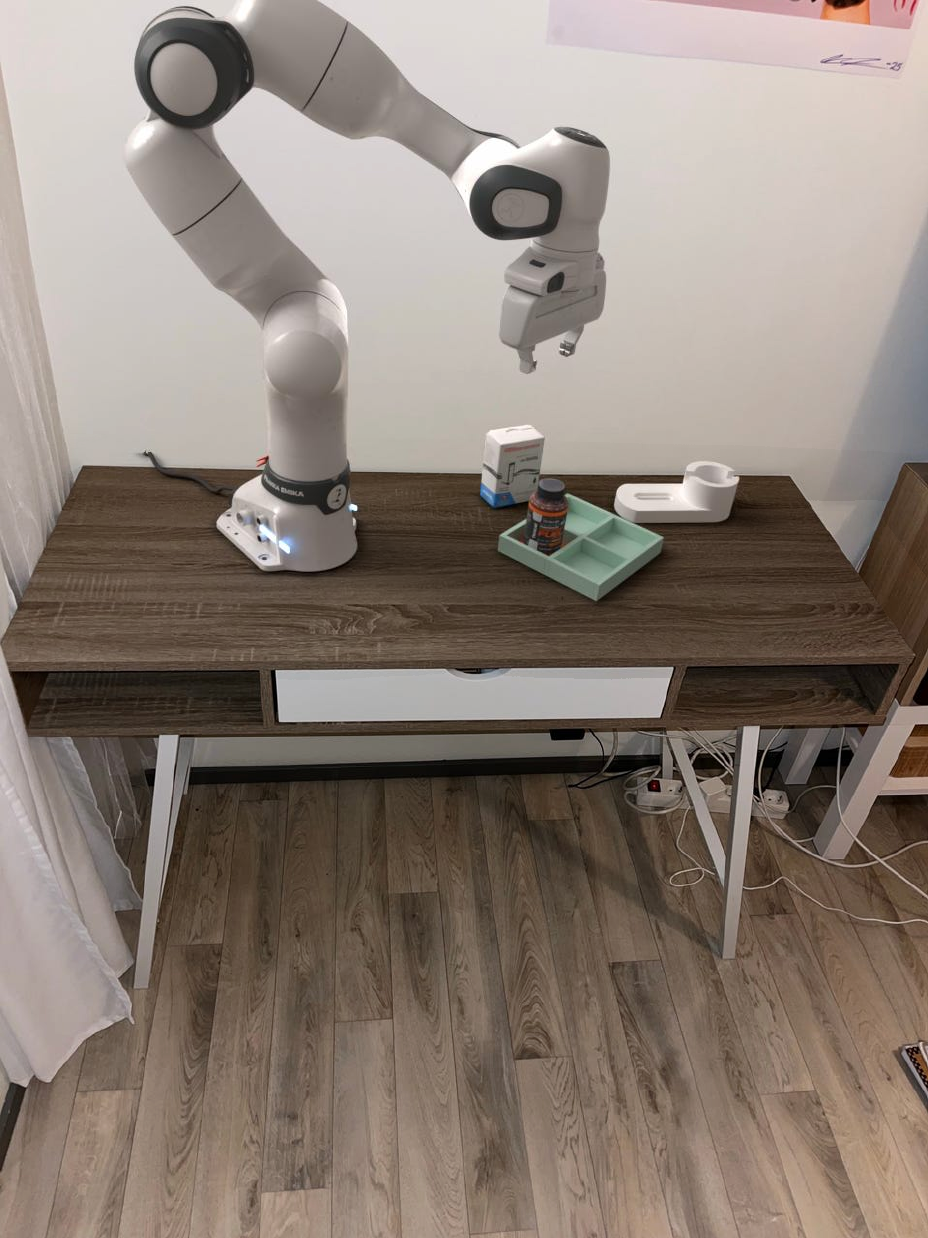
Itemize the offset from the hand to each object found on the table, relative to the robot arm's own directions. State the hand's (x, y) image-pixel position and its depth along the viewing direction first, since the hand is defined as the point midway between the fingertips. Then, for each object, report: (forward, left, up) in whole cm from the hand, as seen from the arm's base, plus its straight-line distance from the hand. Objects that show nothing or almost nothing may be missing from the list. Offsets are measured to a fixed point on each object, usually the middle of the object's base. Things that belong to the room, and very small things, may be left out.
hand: (547, 363), depth 141 cm
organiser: (+8, +4, -29) cm, 31 cm away
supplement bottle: (+4, -1, -29) cm, 29 cm away
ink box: (-10, +9, -30) cm, 32 cm away
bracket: (+12, +26, -30) cm, 41 cm away
